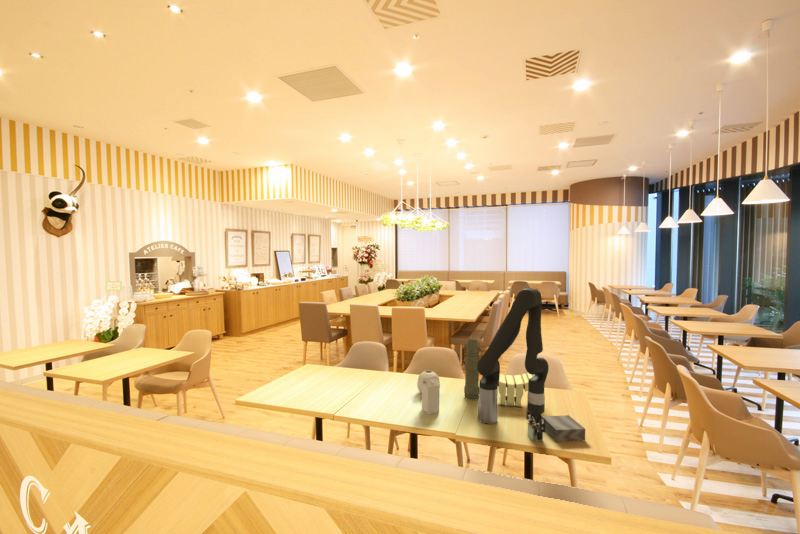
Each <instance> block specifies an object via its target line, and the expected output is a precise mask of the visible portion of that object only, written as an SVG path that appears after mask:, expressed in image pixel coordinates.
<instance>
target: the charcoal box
mask: <svg viewBox="0 0 800 534" xmlns="http://www.w3.org/2000/svg"><path fill="white" fill-rule="evenodd" d="M541 416H542V419H545V433H546V434H547V435H548V436H549V437H550V438H551V439H552V440H553V441H554V442H555V443H566V442H567V443H569V441H571V442H584V441H583V440H585V441H586V428H585V427H584V426H582V425H581V424H580V423H578V422H577V421H576V420H575V419H574V418H572V417H571V416H570V415H569V414H567V415H566V414H565V415H545V416H544V415H541Z"/></svg>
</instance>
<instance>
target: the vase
mask: <svg viewBox="0 0 800 534" xmlns="http://www.w3.org/2000/svg"><path fill="white" fill-rule="evenodd" d="M431 376H436V378H437V380H438V383H439V389H440V387H441V384H440V377H439V375H438V374H437V373H436V372H435V371H432V370H430V369H429V370H424V371H423V372H421V373H420V374H419V375H418V378H417V383H416V385H417V386H416V387H417V390H418V392H419V393H421V394H422V382H423V381H424V380H425V377H431Z"/></svg>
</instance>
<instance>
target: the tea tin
mask: <svg viewBox="0 0 800 534" xmlns="http://www.w3.org/2000/svg"><path fill="white" fill-rule="evenodd" d="M527 437H528V438H529V439H530V441H532V442H543V441H544V433H542V440H538V439H537V428H536V427H535V424H534V422H532V423H529V422H527Z"/></svg>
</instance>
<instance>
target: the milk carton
mask: <svg viewBox="0 0 800 534" xmlns="http://www.w3.org/2000/svg"><path fill="white" fill-rule="evenodd" d="M421 410H422V411H424V412H425V413H426V414H427V415H430V414H431V415H432V414H437V413H439V412H440V388H439V383H438V380H437V378H436V376H431V377H425V380H424V381H423V382H422V393H421Z"/></svg>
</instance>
